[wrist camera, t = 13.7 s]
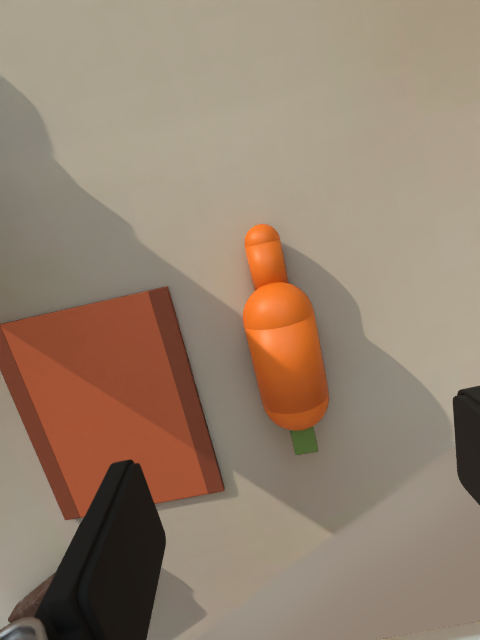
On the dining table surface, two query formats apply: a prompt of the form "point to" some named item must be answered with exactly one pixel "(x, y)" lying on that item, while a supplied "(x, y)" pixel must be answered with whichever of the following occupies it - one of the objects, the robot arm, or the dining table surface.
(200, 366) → the dining table surface
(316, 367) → the carrot
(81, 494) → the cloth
